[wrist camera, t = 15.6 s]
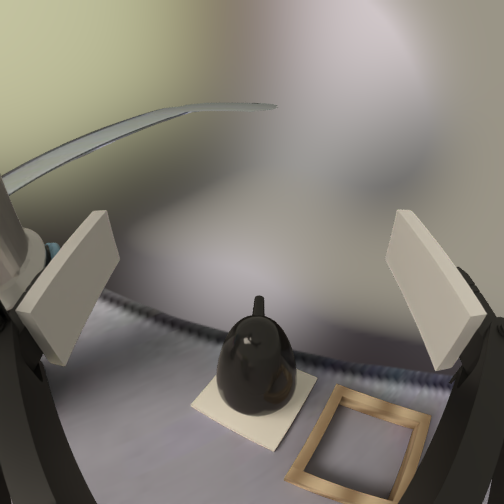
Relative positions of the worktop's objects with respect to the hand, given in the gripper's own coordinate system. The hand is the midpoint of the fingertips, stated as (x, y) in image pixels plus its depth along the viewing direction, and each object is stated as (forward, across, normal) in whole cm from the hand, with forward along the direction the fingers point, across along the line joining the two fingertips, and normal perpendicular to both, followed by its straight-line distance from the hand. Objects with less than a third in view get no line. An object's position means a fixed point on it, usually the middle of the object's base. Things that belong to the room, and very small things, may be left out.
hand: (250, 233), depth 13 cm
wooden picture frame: (0, +14, -32) cm, 35 cm away
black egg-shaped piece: (+10, 0, -32) cm, 33 cm away
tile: (+10, 0, -32) cm, 33 cm away
